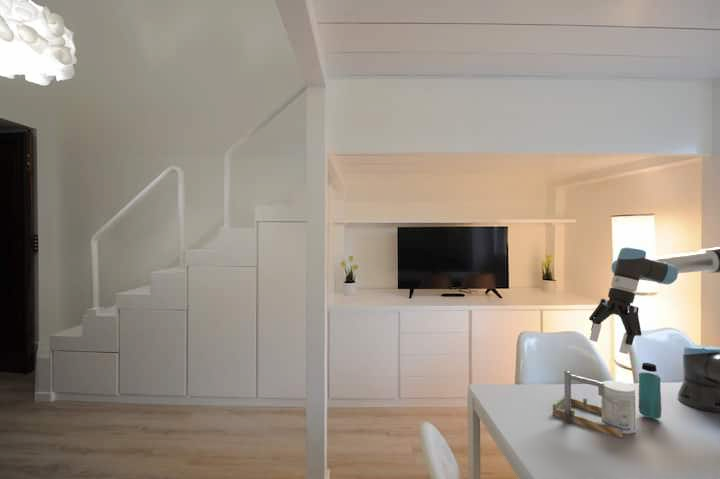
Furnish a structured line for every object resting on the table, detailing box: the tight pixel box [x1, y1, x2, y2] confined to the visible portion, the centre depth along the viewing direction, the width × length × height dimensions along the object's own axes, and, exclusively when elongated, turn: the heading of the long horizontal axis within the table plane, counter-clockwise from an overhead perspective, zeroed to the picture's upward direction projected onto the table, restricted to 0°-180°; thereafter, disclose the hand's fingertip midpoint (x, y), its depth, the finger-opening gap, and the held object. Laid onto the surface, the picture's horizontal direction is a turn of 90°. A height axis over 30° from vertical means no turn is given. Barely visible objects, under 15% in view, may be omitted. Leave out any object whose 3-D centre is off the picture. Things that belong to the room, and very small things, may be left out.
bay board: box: [552, 395, 623, 439], centre depth 128 cm, size 21×15×4 cm
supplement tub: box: [601, 380, 636, 435], centre depth 122 cm, size 10×10×15 cm
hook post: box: [563, 370, 605, 424], centre depth 122 cm, size 12×2×18 cm, turn 42°
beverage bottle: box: [637, 362, 663, 420], centre depth 129 cm, size 6×7×20 cm
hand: (607, 346), depth 127 cm, fingers open, 13 cm apart
